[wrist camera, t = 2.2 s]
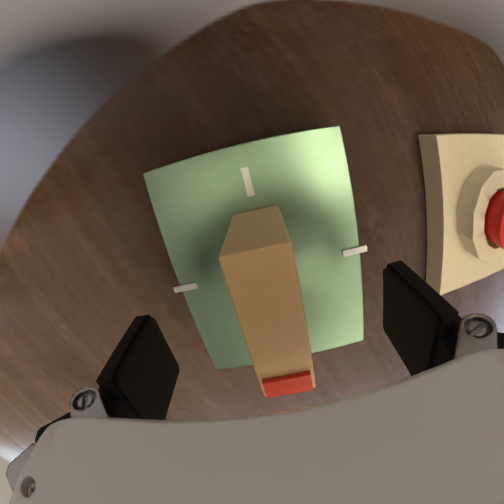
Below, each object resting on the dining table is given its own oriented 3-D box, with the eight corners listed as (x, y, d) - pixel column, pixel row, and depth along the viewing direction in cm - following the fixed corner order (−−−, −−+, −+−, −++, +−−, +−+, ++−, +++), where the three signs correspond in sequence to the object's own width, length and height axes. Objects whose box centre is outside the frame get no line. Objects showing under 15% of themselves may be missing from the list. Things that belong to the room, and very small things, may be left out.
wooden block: (232, 214, 13) (216, 260, 8) (277, 204, 13) (292, 243, 8) (262, 323, 15) (264, 401, 10) (299, 315, 15) (317, 391, 10)
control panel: (156, 170, 15) (135, 175, 12) (330, 128, 14) (347, 123, 11) (215, 343, 20) (210, 372, 17) (355, 314, 19) (369, 340, 16)
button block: (417, 134, 14) (454, 135, 10) (493, 133, 13) (527, 136, 9) (425, 282, 18) (452, 308, 14) (494, 256, 17) (522, 274, 13)
